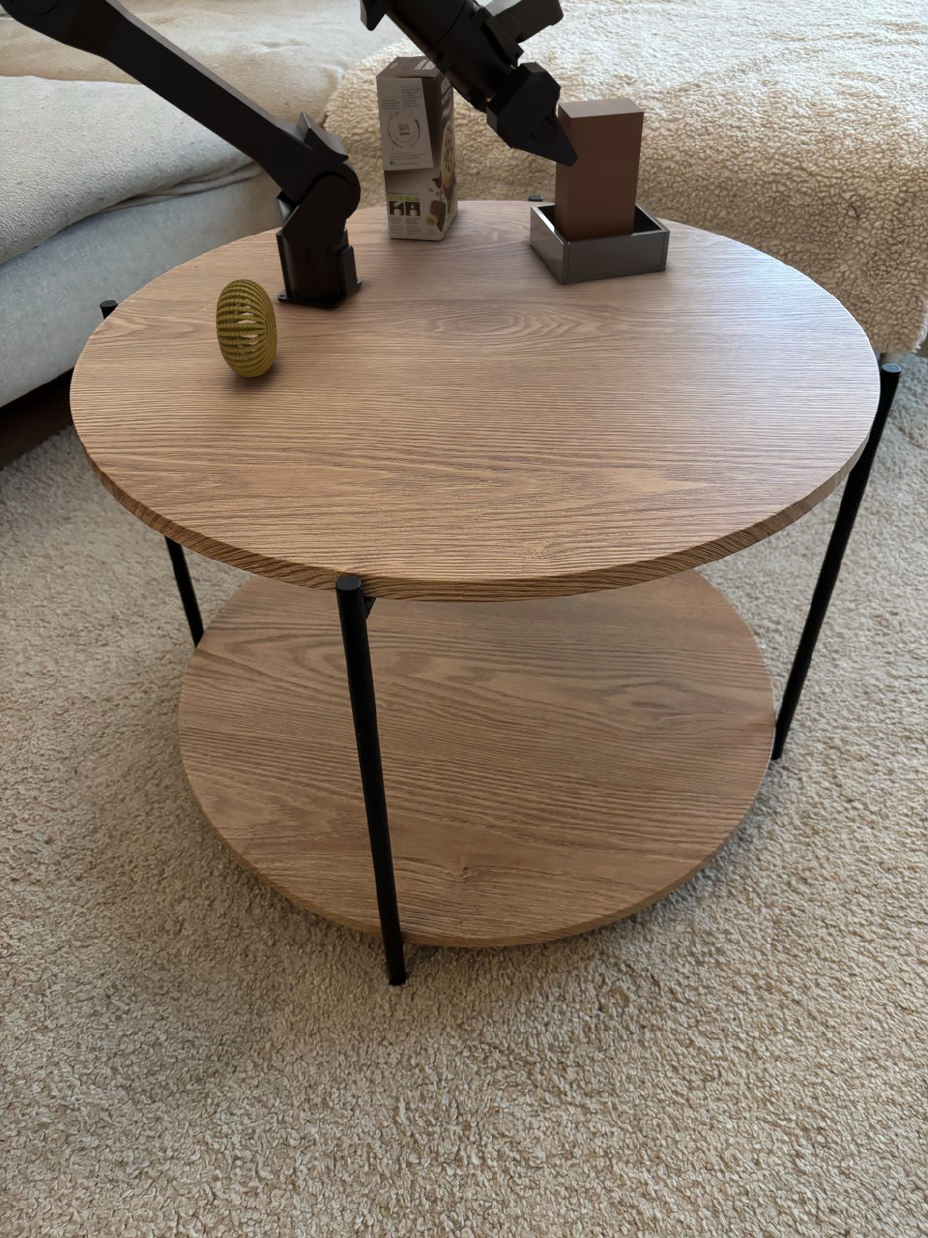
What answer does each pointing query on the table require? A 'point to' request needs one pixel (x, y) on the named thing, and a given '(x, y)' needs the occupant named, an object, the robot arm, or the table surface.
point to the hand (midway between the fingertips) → (558, 147)
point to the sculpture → (246, 328)
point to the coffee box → (417, 148)
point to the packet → (599, 169)
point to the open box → (600, 248)
